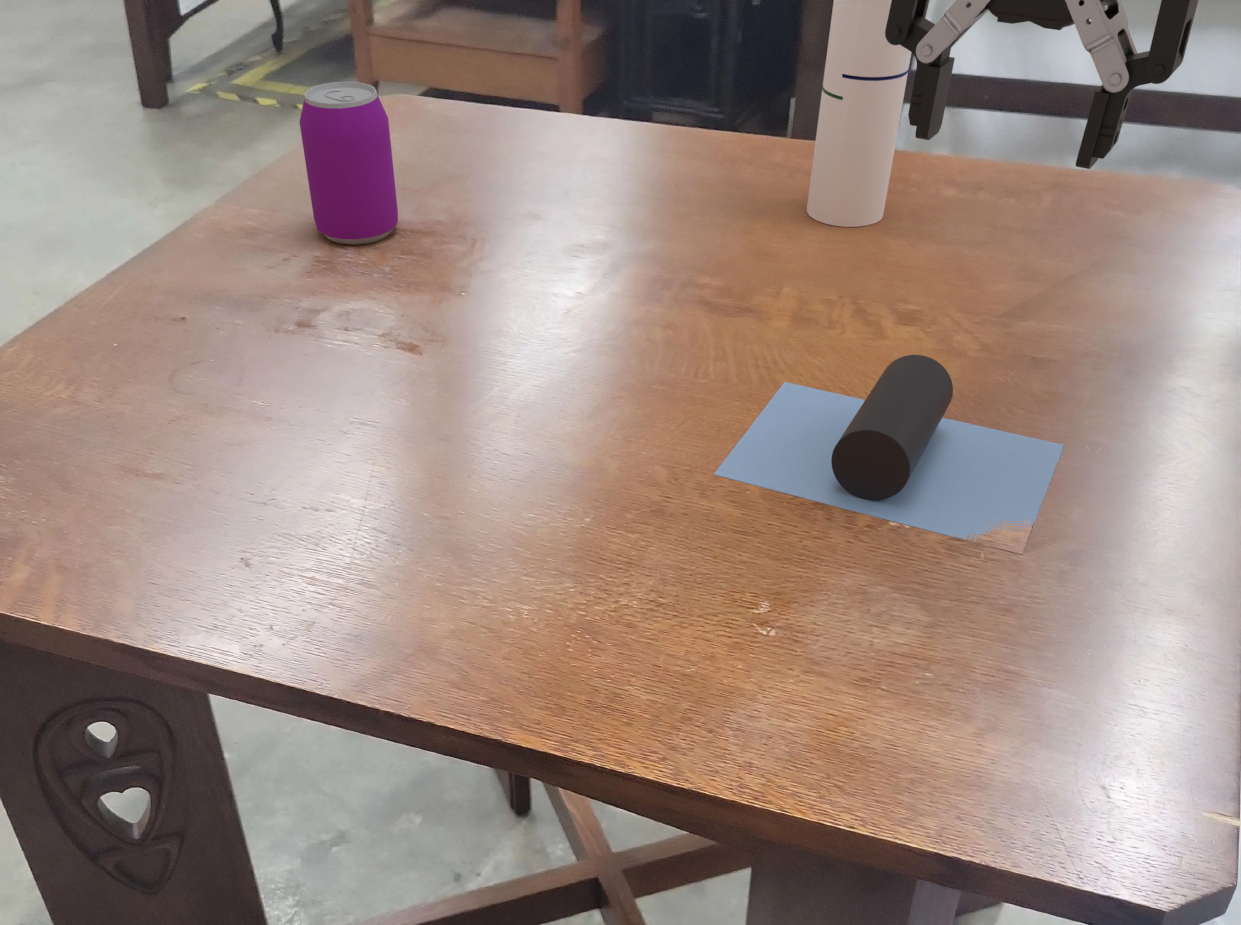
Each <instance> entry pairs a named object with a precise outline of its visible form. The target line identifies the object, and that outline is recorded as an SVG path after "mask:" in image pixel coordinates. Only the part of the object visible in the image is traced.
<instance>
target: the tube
mask: <svg viewBox="0 0 1241 925" xmlns="http://www.w3.org/2000/svg"><path fill="white" fill-rule="evenodd" d="M953 394H954V384H953V381H952V378H951V375H950V373H949V372H948V370H947V369H946V368H945V367H944V366H943V365H942V364H941V363H940V362H939V361H937V360H935V359H933V358H932V357H929V356H926V355H923V354H907V355H903V356H900V357H898V358H896V359H894V360H893V361H892V362H890V363H889V364H888V365H887V366H886V368H885V369H884V370H883V372H882V374H881V375H880V376H879V378H878V380H877V381H876V382H875V384H874V386H873V387H872V389H871V391H870V392H869V394H868V395H867V396H866V398H865V399H864V400H865V401H864V403H863V404H862V406H861V407H860V409H859V410H858V412H857V413H856V415H855V417H854V418H853V420H852V421H851V423H850V424H849V426H848V427H847V429H846V430H845V432H844V433H843V435H842V437H841V438H840V440H839V441H838V443H837V444H836V446H835V448H834V450H833V453H832V459H831V464H832V470H833V473H834V475H835V477H836V479H837V481H838V482H839V484H840V485H841V486H842V487H843V488H844V489H845V490H846V491H848V492H849V493H851V494H852V495H854V496H856V497H859V498H862V499H866V500H884V499H888V498H890V497H892V496H894V495H896V494H897V493H899V492H900V491H901V490H902V489H903V488H904V486H905V485H906V483H907V482H908V480H909V478H910V476H911V474H912V472H913V470H914V469H915V467H916V465H917V463H918V461H919V459H920V458H921V456H922V454H923V452H924V450H925V448H926V447H927V445H928V443H929V441H930V439H931V437H932V436H933V434H934V432H935V430H936V428H937V426H938V425H939V423H940V421H941V419H942V417H943V418H944V415H945V413H946V412H947V410H948V408H949V406H950V404H951V402H952V399H953V396H954V395H953Z"/></svg>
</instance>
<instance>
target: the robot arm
mask: <svg viewBox="0 0 1241 925" xmlns="http://www.w3.org/2000/svg"><path fill="white" fill-rule="evenodd" d="M929 4H930V0H892V1H891V6H890V11H889V15H888V20H887V25H886V30H885V37H886V39H887V41H888V42H889V43H890V44H892V45H901V46H903V47H904V48H906V49H908V50H909V51H911V54H913V55H914V58H915V61H916V68H915V73H914V74H915V75H914V79H913V86H912V92H911V97H910V103H909V109H908V112H907V115H908V121H909V122H908V123H909V126H912V127H916V128H915V135H914V137H915V139H920V140H925V141H931V139H933V138H934V137H935V136H936V135H938V134H939V132H940V130H941V127H942V124H943V120H944V115H945V110H946V106H947V105H946V104H947V100H948V94H949V90H950V84H951V79H952V74H953V69H954V64H955V60H956V58H955V57H953V56H951V50H952V48H953V47H954V46H955V45H956V44H957V43H958V41H960V40H961V38H963V36H964V35H966V33H968V31H969V30H970V29H971V28H972V27H973V26H975V24H976V23H977V22H978V21H979V20H981V19H982V18H983V17H984V16H985V15H986V14H987V13H988V12H990V14H991V15H993V16H994V17H996V18H997V19H996V22H997V23H1005V24H1011V25H1012V24H1013V25H1014V24H1020V23H1026V22H1027V23H1028V22H1029V23H1031V24H1033V25H1034V24H1035V25H1036V26H1038V27H1041V28H1042V29H1049V30H1056V31H1061V30H1062V29H1064V28H1066V27H1067V28H1068V27H1071V26H1073V25H1074V26H1075V28H1076V31H1077V33H1078V34H1077V35H1078V36H1079V38H1080V41H1081V43H1082V45H1083V48H1084V49H1085V51H1086V52H1088V53H1089V54H1090V56H1091V59H1092V62H1093V64H1094V66H1095V70H1096V71H1097V75H1098V76H1099V79H1100V82H1101V85H1100V86H1099V87H1098V88H1097V89H1096V90H1095V91H1094V95H1093V98H1092V101H1091V106H1090V110H1089V113H1088V116H1087V121H1086V124H1085V128H1084V130H1083V136H1082V139H1081V143H1080V146H1079V149H1078V153H1077V156H1076V161H1075V167H1078V168H1081V169H1087V170H1091V169H1092V167H1093V166H1095V164H1096V163H1097V162H1098V160H1099V159H1102V160H1104V159H1105V157H1107V155H1108V154H1109V153H1110V152H1111V151H1112V150H1113V148H1114V147H1115V145H1116V144H1117V143H1118V142H1119V141H1118V140H1119V137H1120V134H1121V131H1122V130H1121V129H1122V128H1123V123H1124V119H1125V117H1126V114H1127V110H1128V107H1129V105H1130V104H1129V103H1130V100H1131V96H1132V94H1133V90H1134V89H1135V88H1137V87H1139V86H1143V85H1144V86H1145V85H1149V84H1153V85H1160V84H1163V83H1165V82H1166V81H1167V80H1168V79H1170V77H1171V76H1172V75H1173V74H1174V73H1175V72H1176V71H1177V69H1178V68H1180V66H1181V65H1182V63H1183V62H1184V59H1185V55H1186V51H1187V46H1188V42H1189V38H1190V35H1191V30H1192V28H1193V23H1194V19H1195V15H1196V11H1197V7H1198V4H1199V0H1161V1H1160V6H1159V9H1158V14H1157V18H1156V22H1155V26H1154V30H1153V35H1152V37H1151V38H1152V39H1151V43H1150V47H1149V50H1146V51H1142V52H1138V51H1137V48H1136V45H1135V43H1134V41H1133V37H1132V35H1131V33H1130V29H1129V20H1128V17H1127V13H1126V11H1125V8H1124V6H1123V3H1122V1H1121V0H955V2H953V3H952V5H951V6H950V7H949V8H948V9H947V10H946V11H945V12H944V13H943V15H942V16H941V18H940V19H939V20H938V21H937V22H936V23H934V22H932V21H930V20H929V19H927V18H926V17H927V12H928V8H929ZM1106 6H1107V8H1106ZM1090 20H1091V21H1090Z"/></svg>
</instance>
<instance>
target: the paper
mask: <svg viewBox="0 0 1241 925" xmlns="http://www.w3.org/2000/svg"><path fill="white" fill-rule="evenodd" d="M865 400H866V399H863V398H858V397H854V396H850V395H845V394H841V393H837V392H832V391H828V390H824V389H818V388H814V387H809V386H806V385H801V384H797V383H793V382H788V381H784V382H783V383H782V384H781V385H780V387H779V388H778V390H777V391H776V392H775V394H774V395H773V396H772V398H771V399H770V400H769V401H768V403H767V404H766V405H765V407H764V408H763V409H762V410H761V412H760V413H759V414H758V415H757V417H756V418H755V420H754V421H753V422H752V423H751V425H750V426H749V427H748V429H747V430H746V431H745V433H744V434H743V435H742V436H741V438H740V439H739V441H738V442H737V443H736V444H735V445H734V447H733V449H731V451H730V452H729V453H728V455H727V456H726V457H725V459H724V460H723V461H722V462H721V464H720V465H719V467H718V468H717V469H716V471H715V472H714V473H713V476H715V477H716V476H717V477H719V478H723V479H728V480H732V481H736V482H740V483H743V484H747V485H751V486H755V487H758V488H762V489H765V490H770V491H774V492H777V493H782V494H785V495H790V496H793V497H796V498H801V499H805V500H808V501H812V502H816V503H821V504H824V505H828V506H832V507H835V508H839V509H843V510H845V511H846V510H847V511H850V512H853V513H859V514H862V515H866V516H870V517H873V518H877V519H880V520H881V519H882V520H886V521H889V522H892V523H896V524H901V525H903V526H908V527H911V528H916V529H920V530H924V531H928V532H931V533H935V534H938V533H939V535H942V534H943V535H942V536H947V537H950V536H951V538H954V537H957V538H956V539H958V538H961V537H962V538H963V540H962V541H965V540H966V538H968V539H969V541H970V539H972V537H973V535H974V534H976V535H977V536H975V535H974V536H975V538H973V539H977V537H978V536H979V534H983V535H984V534H985V532H986V530H987V528H988V526H989V527H990V528H988V530H989V532H988V534H990V532H991V530H992V528H993V526H995V525H996V527H997V528H998V525H999V522H1000V521H1003V522H1001V523H1002V524H1000V525H1001V528H1000V530H1002V528H1003V525H1004V522H1005V521H1008V522H1006V524H1007V525H1005V526H1008V525H1009V522H1010V521H1012V522H1010V523H1011V524H1012V525H1009V526H1013V524H1014V521H1017V522H1015V523H1016V525H1014V526H1018V523H1019V521H1022V522H1020V524H1021V525H1019V526H1025V525H1026V526H1027V525H1028V521H1029V520H1030V522H1031V523H1029V524H1030V526H1031V527H1032V526H1033V527H1035V526H1034V525H1035V523H1036V521H1037V518H1038V515H1039V512H1040V510H1041V508H1042V505H1043V502H1044V499H1045V497H1046V494H1047V492H1048V489H1049V487H1050V484H1051V481H1052V479H1053V476H1054V474H1055V471H1056V469H1057V466H1058V464H1059V461H1060V458H1061V455H1062V453H1063V450H1064V447H1065V444H1061V443H1058V442H1054V441H1053V442H1052V441H1048V440H1043V439H1040V438H1035V437H1031V436H1027V435H1021V434H1018V433H1012V432H1008V431H1005V430H1004V431H1003V430H1000V429H996V428H991V427H986V426H982V425H978V424H973V423H969V422H964V421H960V420H956V419H951V418H948V417H947V418H946V417H944V416H943V417H942V419H941V421H940V423H939V425H938V426H937V428H936V430H935V432H934V434H933V436H932V437H931V439H930V441H929V443H928V445H927V447H926V448H925V450H924V452H923V454H922V456H921V458H920V459H919V461H918V463H917V465H916V467H915V469H914V470H913V472H912V474H911V476H910V478H909V480H908V482H907V483H906V485H905V486H904V488H903V489H902V490H901V491H900V492H899V493H897V494H896V495H894V496H892V497H890V498H888V499H884V500H866V499H862V498H859V497H856V496H854V495H852V494H851V493H849V492H848V491H846V490H845V489H844V488H843V487H842V486H841V485H840V484H839V482H838V481H837V479H836V477H835V475H834V473H833V470H832V464H831V459H832V453H833V450H834V448H835V446H836V444H837V443H838V441H839V440H840V438H841V437H842V435H843V433H844V432H845V430H846V429H847V427H848V426H849V424H850V423H851V421H852V420H853V418H854V417H855V415H856V413H857V412H858V410H859V409H860V407H861V406H862V404H863V403H864V401H865ZM1016 513H1017V514H1016ZM1025 517H1026V518H1025ZM1029 517H1030V518H1029ZM1005 519H1006V520H1005ZM1010 519H1011V520H1010ZM1015 519H1016V520H1015ZM1024 519H1025V521H1026V522H1027V523H1025V525H1023V523H1024ZM990 521H991V522H990ZM995 521H996V523H995ZM1033 521H1035V522H1033ZM989 523H990V524H989ZM994 523H995V525H994ZM1033 523H1034V525H1032V524H1033ZM996 527H994V528H995V529H996V530H997V528H996ZM1006 528H1007V527H1006ZM1015 528H1016V529H1017V527H1015ZM1020 528H1022V527H1020ZM995 529H993V530H995ZM1016 529H1014V530H1016ZM1025 529H1026V527H1025ZM1030 529H1031V528H1030ZM1005 530H1007V529H1005ZM1009 530H1012V527H1011V529H1009ZM1019 530H1021V529H1019ZM981 531H982V532H983V533H982V532H981ZM994 532H995V531H994ZM1015 532H1016V531H1015ZM952 534H953V535H952ZM970 534H971V535H970ZM957 535H959V536H957ZM963 535H964V536H963ZM968 535H969V536H970V538H969V537H967V536H968ZM983 535H982V537H983ZM981 539H982V538H981ZM969 541H968V542H969ZM974 541H976V540H974Z"/></svg>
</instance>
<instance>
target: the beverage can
mask: <svg viewBox="0 0 1241 925" xmlns="http://www.w3.org/2000/svg"><path fill="white" fill-rule="evenodd" d="M299 129H300V135H301V142H302V148H303V149H302V150H303V155H304V162H305V168H306V169H305V170H306V174H307V181H308V188H309V196H310V201H311V208H312V214H313V215H312V216H313V220H314V223H315V227H316V230H317V231H318V232H319V233H320V234H322V235H323V236H324V237H325V238H326V239H327V240H329V241H331V242H333V243H336V244H342V245H366V244H371V243H374V242H378V241H381V240H383V239H385V238H386V237H388V236H389V235H390V234H391V233H392V231H393V230H394V229H395V228H396V227H397V224H398V223H399V210H398V200H397V199H398V198H397V190H396V180H395V171H394V170H395V169H394V162H393V160H394V159H393V152H392V142H391V132H390V121H389V116H388V115H387V112H386V110H385V108H384V105H383V103H382V102H381V99H380V97H379V95H378V92H377V89H376V87H375V86H372V85H371V84H368V83H364V82H357V81H336V82H335V81H333V82H327V83H322V84H318V85H315V86H312V87H310V88H308V89H306V90H305V92H304V94H303V102H302V108H301V113H300V117H299Z"/></svg>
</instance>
